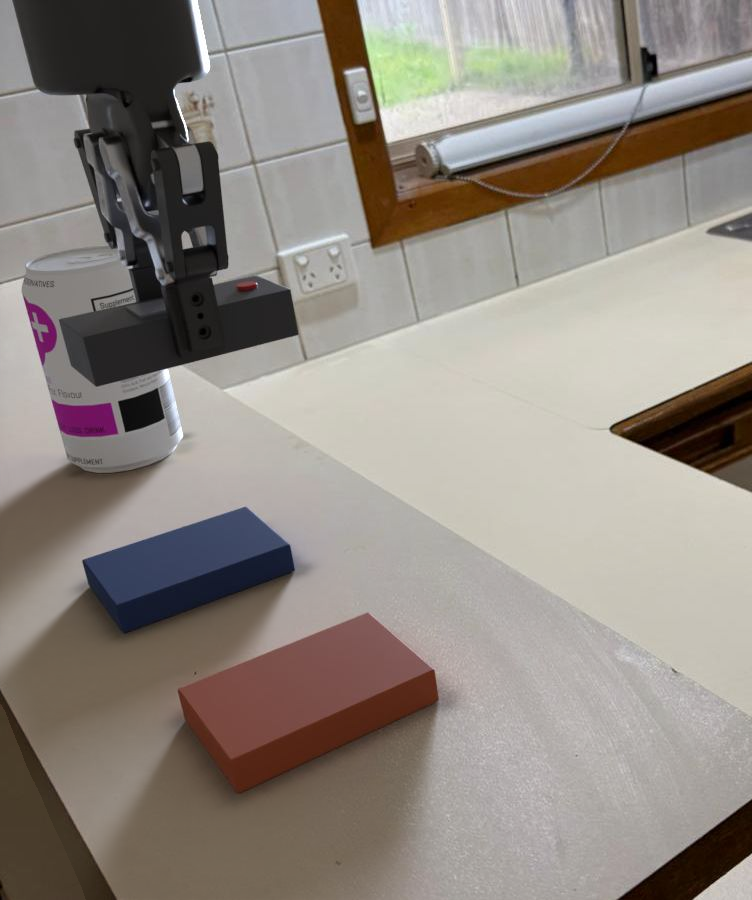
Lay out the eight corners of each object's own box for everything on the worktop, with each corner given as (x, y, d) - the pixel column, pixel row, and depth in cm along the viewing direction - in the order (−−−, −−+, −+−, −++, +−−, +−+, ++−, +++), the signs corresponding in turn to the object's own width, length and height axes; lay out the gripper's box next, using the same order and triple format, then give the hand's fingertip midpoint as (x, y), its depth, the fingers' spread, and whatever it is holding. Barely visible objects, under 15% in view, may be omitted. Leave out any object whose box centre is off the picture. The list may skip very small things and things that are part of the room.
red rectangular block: (184, 719, 54) (176, 688, 54) (373, 640, 60) (368, 611, 59) (238, 794, 49) (230, 760, 48) (439, 700, 55) (435, 669, 54)
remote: (95, 387, 52) (81, 333, 51) (70, 366, 56) (57, 315, 54) (299, 335, 58) (290, 285, 57) (265, 318, 61) (256, 271, 60)
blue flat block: (88, 586, 67) (81, 559, 66) (251, 530, 72) (246, 505, 72) (123, 634, 62) (115, 606, 61) (295, 571, 67) (290, 544, 66)
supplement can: (71, 486, 81) (14, 279, 75) (69, 446, 88) (17, 254, 82) (190, 461, 84) (144, 260, 78) (179, 424, 90) (136, 237, 84)
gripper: (-25, -15, 53) (69, 336, 60) (50, -28, 42) (155, 402, 49) (137, -27, 57) (209, 304, 64) (244, -41, 46) (316, 358, 53)
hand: (185, 344), depth 56 cm, fingers closed on remote, 4 cm apart
